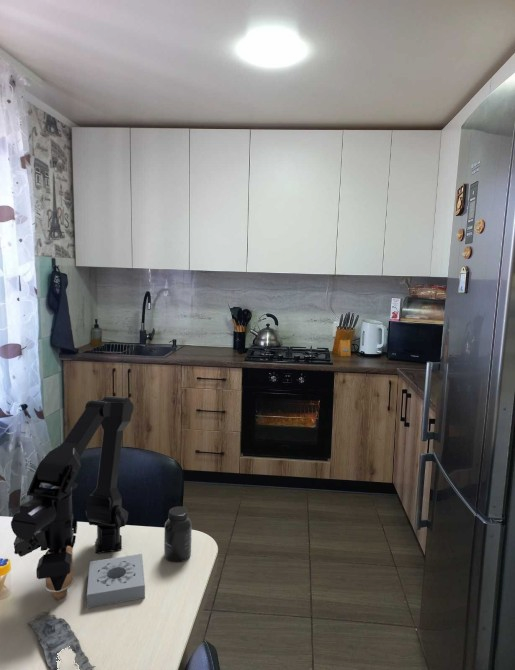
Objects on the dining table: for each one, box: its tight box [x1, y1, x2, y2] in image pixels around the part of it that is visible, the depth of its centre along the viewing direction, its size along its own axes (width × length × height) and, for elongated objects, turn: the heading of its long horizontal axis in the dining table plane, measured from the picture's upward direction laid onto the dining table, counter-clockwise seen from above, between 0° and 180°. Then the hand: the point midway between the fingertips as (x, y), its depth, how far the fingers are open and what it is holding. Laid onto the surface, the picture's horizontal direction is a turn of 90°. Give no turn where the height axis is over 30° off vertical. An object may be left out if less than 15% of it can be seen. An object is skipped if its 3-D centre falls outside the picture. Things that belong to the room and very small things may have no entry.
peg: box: [44, 546, 74, 600], centre depth 99 cm, size 6×6×10 cm
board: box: [86, 553, 146, 609], centre depth 103 cm, size 12×12×3 cm
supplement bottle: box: [163, 506, 193, 563], centre depth 115 cm, size 7×7×12 cm
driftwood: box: [27, 610, 96, 670], centre depth 86 cm, size 21×7×2 cm, turn 40°
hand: (59, 581), depth 99 cm, fingers closed on peg, 5 cm apart
